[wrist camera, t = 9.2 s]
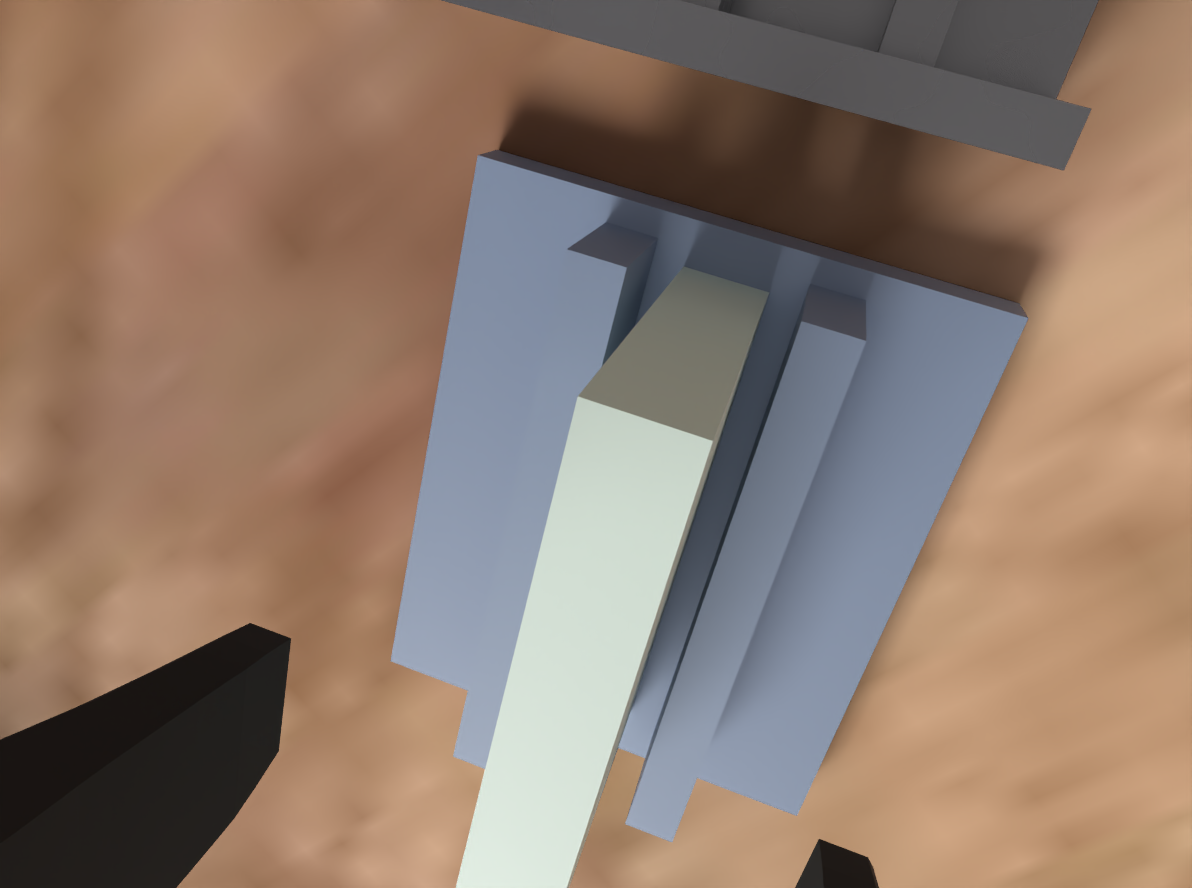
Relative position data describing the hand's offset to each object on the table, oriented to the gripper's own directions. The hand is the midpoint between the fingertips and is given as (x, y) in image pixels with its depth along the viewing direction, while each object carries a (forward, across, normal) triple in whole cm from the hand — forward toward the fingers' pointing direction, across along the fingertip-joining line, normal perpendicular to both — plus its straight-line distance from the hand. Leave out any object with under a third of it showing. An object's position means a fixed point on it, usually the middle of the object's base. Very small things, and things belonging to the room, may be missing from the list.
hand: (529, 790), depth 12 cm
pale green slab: (+8, 0, 0) cm, 8 cm away
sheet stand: (+9, 0, 0) cm, 9 cm away
